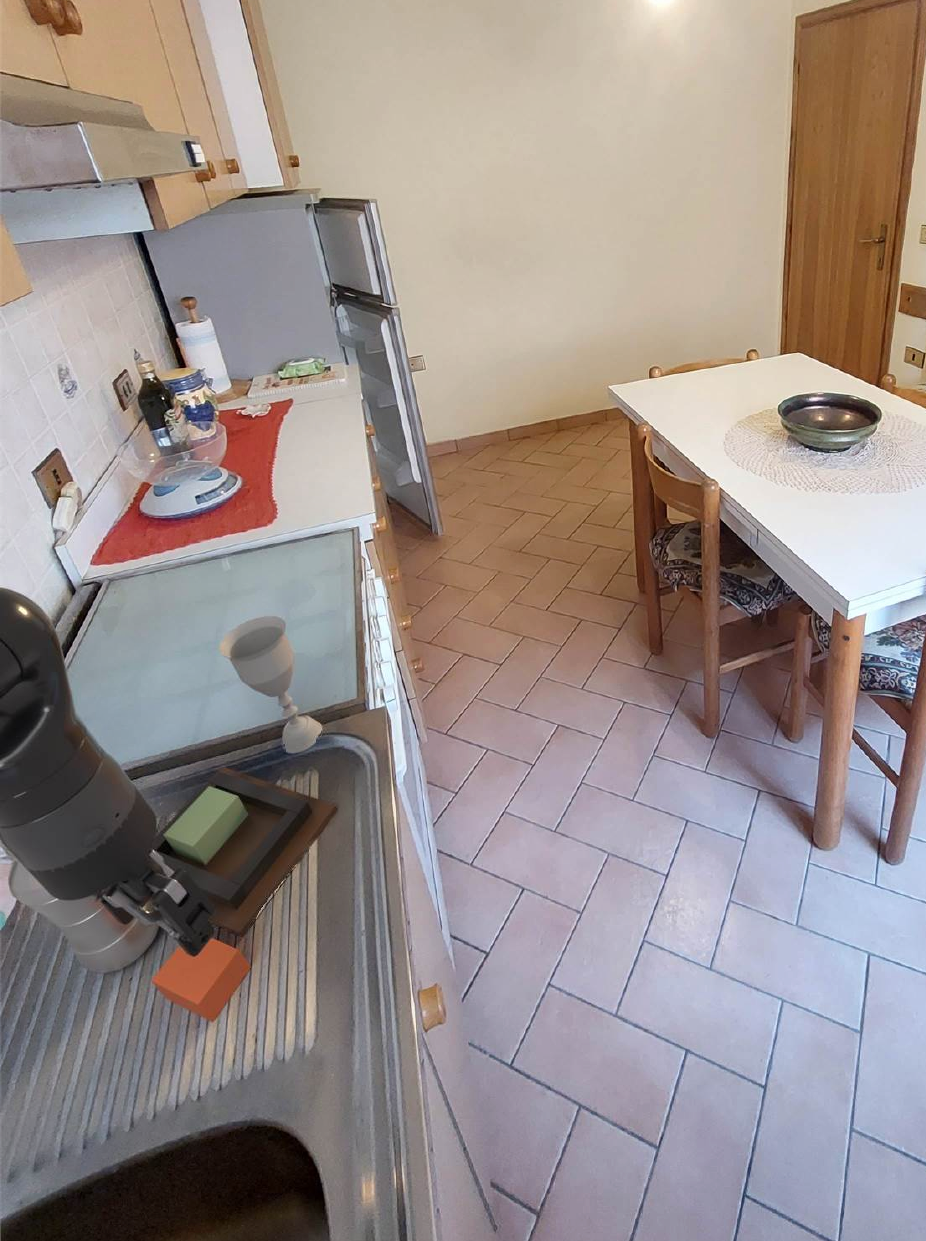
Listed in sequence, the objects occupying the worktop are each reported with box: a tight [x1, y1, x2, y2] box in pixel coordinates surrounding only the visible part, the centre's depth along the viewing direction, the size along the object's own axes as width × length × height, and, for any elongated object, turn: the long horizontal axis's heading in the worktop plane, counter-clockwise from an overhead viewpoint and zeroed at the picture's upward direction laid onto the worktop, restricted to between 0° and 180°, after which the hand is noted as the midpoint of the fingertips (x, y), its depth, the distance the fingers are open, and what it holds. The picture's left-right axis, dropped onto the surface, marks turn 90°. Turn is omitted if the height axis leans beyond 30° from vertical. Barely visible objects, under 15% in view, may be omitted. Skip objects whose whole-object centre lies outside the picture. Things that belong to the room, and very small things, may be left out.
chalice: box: [218, 615, 323, 754], centre depth 84 cm, size 7×7×18 cm
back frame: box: [151, 766, 338, 938], centre depth 75 cm, size 18×14×3 cm
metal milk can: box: [0, 840, 160, 974], centre depth 63 cm, size 6×7×20 cm
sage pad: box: [164, 786, 249, 865], centre depth 75 cm, size 6×4×4 cm
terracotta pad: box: [150, 937, 252, 1023], centre depth 63 cm, size 6×4×4 cm
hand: (167, 927), depth 59 cm, fingers open, 8 cm apart
